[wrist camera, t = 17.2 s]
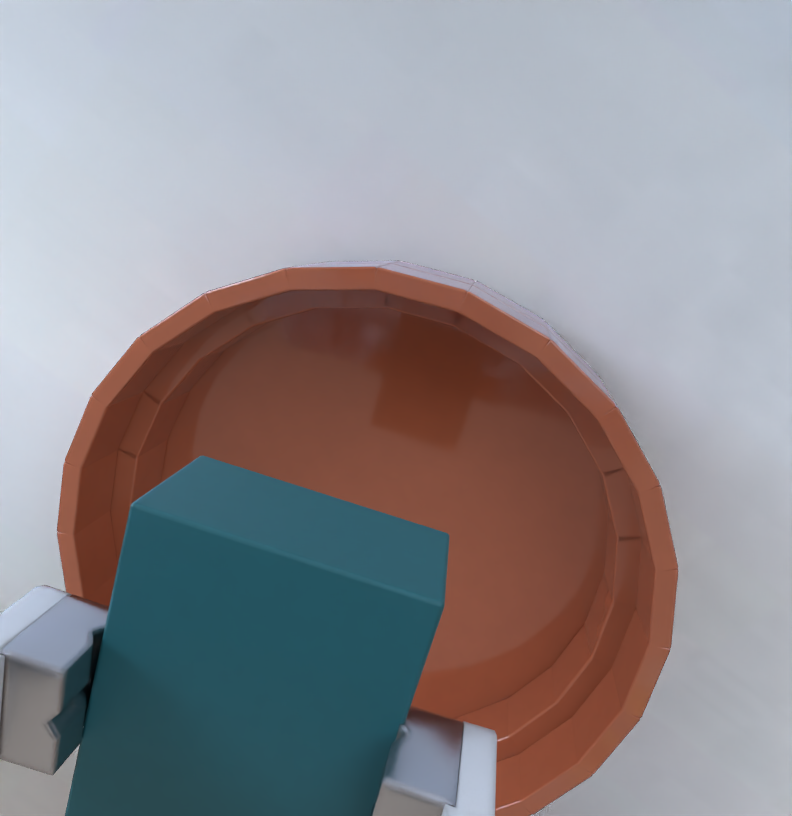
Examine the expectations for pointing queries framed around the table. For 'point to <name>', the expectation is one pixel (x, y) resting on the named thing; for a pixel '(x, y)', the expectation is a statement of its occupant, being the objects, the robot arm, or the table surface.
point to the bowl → (417, 484)
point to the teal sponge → (255, 651)
